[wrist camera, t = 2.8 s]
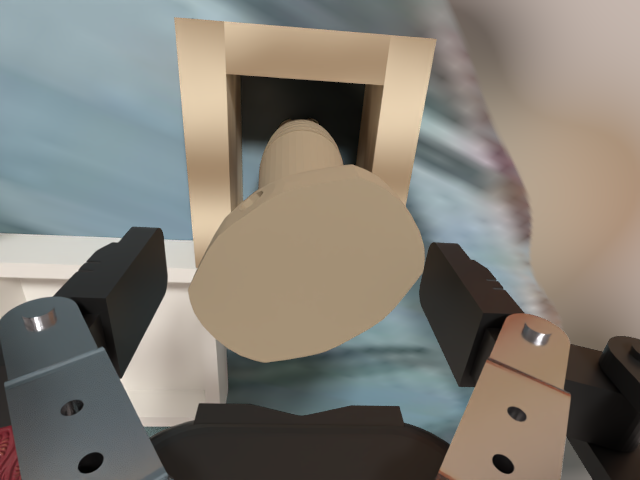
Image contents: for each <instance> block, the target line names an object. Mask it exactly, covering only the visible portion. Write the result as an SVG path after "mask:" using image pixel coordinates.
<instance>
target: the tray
mask: <svg viewBox="0 0 640 480" xmlns="http://www.w3.org/2000/svg"><path fill="white" fill-rule="evenodd" d="M121 239H122V238H110V237H84V236H58V235H32V234H5V233H0V319H1V318H2V317H3V316H4V315H5V314H6V313H7V312H8V311H10V310H11V309H13V308H14V307H16V306H18V305H20V304H23V303H25V302H28V301H31V300H34V299H39V298H44V297H53V296H54V295H55V293H56V292H57V291H58V290H59V289H60V288H61V287H62V286H63V285H64V284H65V283H66V282H67V281H68V280H69V279H70V278H71V277H72V276H73V275H74V274H75V272H78V269H79V268H80V267H81V266H82V265H83V264H84V263H86V262H87V260H88V259H89V258H90V257H91V256H92V255H93V254H94V252H95V251H97V250H98V249H100V248H102V247H104V246H106V245H108V244H110V243H112V242H117V243H118V242H119V241H120V240H121ZM164 245H165V254H166V263H167V273H168V283H167V290H166V293H165V296H164V298H163V300H162V302H161V304H160V305H159V307H158V309H157V311H156V313H155V315H154V317H153V319H152V321H151V323H150V325H149V327H148V329H147V331H146V332H145V334H144V336H143V338H142V340H141V342H140V344H139V346H138V348H137V350H136V352H135V354H134V356H133V358H132V360H131V361H130V363H129V365H128V367H127V369H126V371H125V373H124V375H123V377H122V379H120V380H121V382H122V384H123V386H124V388H125V390H126V392H127V395H128V397H129V399H130V401H131V403H132V405H133V407H134V409H135V411H136V413H137V415H138V417H139V419H140V421H141V423H142V425H143V426H175V425H178V424H181V423H184V422H188V421H192V420H195V416H196V412H197V408H198V405H199V403H221V404H226V400H227V394H228V371H227V351H226V347H225V346H224V345H223V344H221V343H220V342H219V341H218V340H216V339H215V338H214V337H213V336H212V335H211V334H210V333H209V332H208V331H207V330H206V329H205V328H204V327H203V325H202V324H201V322H200V321H199V320H198V318H197V317H196V315H195V314H194V311H193V308H192V306H191V303H190V299H189V294H188V288H189V286H190V284H191V281H192V279H193V277H194V275H195V272H196V270H197V268H196V265H195V253H194V242H193V241H188V240H164Z"/></svg>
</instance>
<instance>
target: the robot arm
mask: <svg viewBox="0 0 640 480" xmlns="http://www.w3.org/2000/svg"><path fill="white" fill-rule="evenodd" d="M167 283H168V273H167V263H166V254H165V245H164V236H163V232H162V230H161V228H150V227H132V228H131V229H130V230H129V231H128V232H127V233H126V234H125V235H124V236H123V238H122V239H121V240H120V241H119V242H118V243H117V242H112V243H110V244H108V245H106V246H104V247H102V248H100V249H98V250H97V251H95V252H94V254H93V255H92V256H91V257H90V258H89V259H88V260H87V262H86V263H84V264H83V265H82V266H81V267H80V268H79V269H78V272H75V274H74V275H73V276H72V277H71V278H70V279H69V280H68V281H67V282H66V283H65V284H64V285H63V286H62V287H61V288H60V289H59V290H58V291H57V292H56V293H55V295H54V296H53V297H44V298H39V299H34V300H31V301H28V302H25V303H23V304H20V305H18V306H16V307H14V308H13V309H11V310H10V311H8V312H7V313H6V314H5V315H4V316H3V317H2V318H1V319H0V428H2V427H6V426H10V425H12V430H13V436H14V441H15V447H16V452H17V457H18V463H19V468H20V474H21V479H22V480H561V472H562V464H563V456H564V447H565V440H566V436H567V438H568V440H569V442H570V443H571V445H572V446H573V448H574V450H575V451H576V453H577V455H578V456H579V458H580V460H581V461H582V463H583V465H584V466H585V468H586V470H587V471H588V473H589V474H590V476H591V477H592V479H593V480H640V340H639V339H636V338H631V337H626V336H616V337H613V338H611V339H610V340H609V341H608V343H607V345H606V347H605V349H604V351H603V352H602V351H598V350H594V349H589V348H585V347H581V346H577V345H573V344H570V340H569V338H568V336H567V335H566V333H565V332H564V331H563V330H562V329H561V328H559V327H558V326H556V325H555V324H553V323H552V322H550V321H548V320H546V319H543V318H541V317H538V316H535V315H531V314H525V313H524V312H523V311H522V310H521V308H520V307H519V306H518V305H517V304H516V302H515V301H514V300H513V299H512V298H511V296H510V295H509V294H508V293H507V292H506V290H503V287H502V286H501V284H500V283H499V282H498V281H496V278H495V277H494V276H493V275H492V273H491V272H490V271H489V270H488V269H487V268H485V267H484V266H482V265H481V264H479V263H478V262H476V261H475V260H471V259H470V258H469V257H468V256H467V254H466V253H465V252H464V251H463V249H462V248H461V247H460V245H459V244H455V243H435V242H433V243H432V244H431V245H430V247H429V250H428V254H427V258H426V262H425V266H424V271H423V275H422V279H421V284H420V290H419V297H420V303H421V306H422V308H423V311H424V313H425V315H426V317H427V319H428V321H429V323H430V326H431V328H432V330H433V332H434V334H435V336H436V338H437V341H438V343H439V345H440V347H441V349H442V351H443V354H444V356H445V358H446V360H447V362H448V364H449V366H450V369H451V371H452V373H453V375H454V377H455V379H456V381H457V384H458V386H459V387H475V388H474V391H473V393H472V395H471V398H470V400H469V402H468V405H467V407H466V409H465V412H464V414H463V416H462V419H461V421H460V423H459V426H458V428H457V430H456V433H455V435H454V437H453V440H452V442H451V444H448V443H447V442H446V441H444V440H443V439H441V438H439V437H437V436H436V435H434V434H432V433H430V432H428V431H426V430H424V429H422V428H419V427H416V426H413V425H410V424H407V423H404V422H403V418H402V414H401V411H400V407H399V406H353V405H351V406H347V407H342V408H338V409H333V410H328V411H324V412H319V413H314V414H310V415H304V416H299V415H294V414H290V413H285V412H281V411H277V410H273V409H269V408H265V407H260V406H256V405H252V404H221V403H199V405H198V408H197V412H196V416H195V420H192V421H188V422H184V423H181V424H178V425H175V426H172V427H170V428H168V429H165V430H163V431H161V432H159V433H157V434H155V435H153V436H151V437H150V438H149V437H148V435H147V433H146V431H145V429H144V427H143V425H142V423H141V421H140V419H139V417H138V415H137V413H136V411H135V409H134V407H133V405H132V403H131V401H130V399H129V397H128V395H127V392H126V390H125V388H124V386H123V384H122V382H121V380H120V379H122V377H123V375H124V373H125V371H126V369H127V367H128V365H129V363H130V361H131V360H132V358H133V356H134V354H135V352H136V350H137V348H138V346H139V344H140V342H141V340H142V338H143V336H144V334H145V332H146V331H147V329H148V327H149V325H150V323H151V321H152V319H153V317H154V315H155V313H156V311H157V309H158V307H159V305H160V304H161V302H162V300H163V298H164V296H165V293H166V290H167Z"/></svg>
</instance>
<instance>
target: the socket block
mask: <svg viewBox="0 0 640 480" xmlns="http://www.w3.org/2000/svg"><path fill="white" fill-rule="evenodd" d="M174 19H175V31H176V43H177V54H178V66H179V78H180V90H181V101H182V113H183V125H184V136H185V148H186V160H187V171H188V183H189V195H190V207H191V218H192V230H193V242H194V253H195V265H196V268H198V266H199V264H200V262H201V260H202V258H203V256H204V254H205V252H206V250H207V248H208V246H209V244H210V242H211V240H212V238H213V236H214V235H215V233H216V231H217V230H218V228H219V227H220V225H221V223H222V222H223V220H224V219H225V217H226V216H228V215H229V214H230V213H231V212H232V211H233V210H234V209H235V208H236V207H238V206H239V205H240V204H241V203H242V202H243V178H242V126H241V75H248V76H262V77H276V78H290V79H304V80H318V81H332V82H345V83H359V84H365V92H364V100H363V109H362V118H361V126H360V135H359V143H358V152H357V160H356V166H358V167H360V168H363V169H366V170H367V171H369V172H371V173H373V174H375V175H377V176H378V177H380V178H381V179H382V180H383V181H384V182H385V183H386V184H387V185H388V186H390V187H391V188H392V189H393V191H394V192H395V193H396V194H397V196H398V197H399V198H400V200H401V201H402V202H403V203H404V205H405V206H406V200H407V195H408V190H409V184H410V179H411V174H412V168H413V163H414V157H415V152H416V147H417V141H418V136H419V131H420V125H421V120H422V114H423V109H424V104H425V98H426V93H427V88H428V82H429V77H430V71H431V66H432V61H433V55H434V50H435V45H436V39H430V38H418V37H405V36H393V35H381V34H369V33H357V32H345V31H333V30H321V29H309V28H296V27H284V26H272V25H260V24H248V23H236V22H224V21H212V20H200V19H187V18H175V17H174Z"/></svg>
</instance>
